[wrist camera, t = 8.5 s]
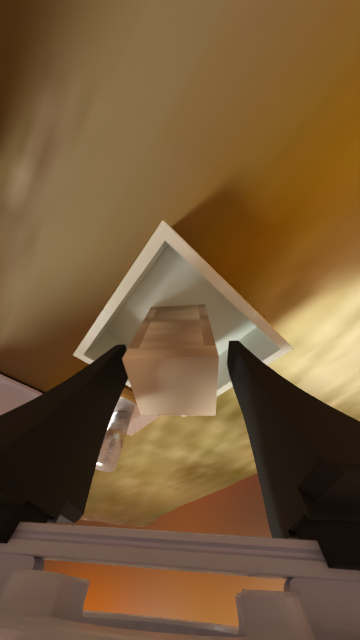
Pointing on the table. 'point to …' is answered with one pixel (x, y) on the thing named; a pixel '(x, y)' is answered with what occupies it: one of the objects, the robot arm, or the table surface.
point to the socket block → (174, 362)
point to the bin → (176, 290)
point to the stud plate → (134, 410)
